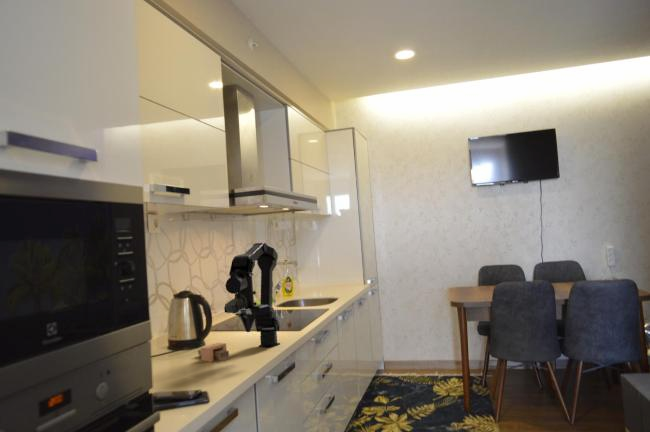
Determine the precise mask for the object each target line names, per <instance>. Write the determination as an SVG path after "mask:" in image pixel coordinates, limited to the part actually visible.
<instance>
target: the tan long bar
mask: <svg viewBox="0 0 650 432" xmlns="http://www.w3.org/2000/svg"><path fill="white" fill-rule="evenodd" d="M226 350H227V349H226ZM226 350H218V349H214V350H213V357H214V361H220V362H225V361H227V360H229V359H230V355H229V350H227V351H226ZM197 354H198V355H197V356H199V357H202V356H201V348H200V349H198V350H197Z"/></svg>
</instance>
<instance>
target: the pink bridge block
mask: <svg viewBox="0 0 650 432" xmlns="http://www.w3.org/2000/svg"><path fill="white" fill-rule="evenodd" d="M200 349H201V356H200V357H201V361H203V362H213V361H215V360H214V357H213V350H214V349H218V350H226V351H228V350H227V343H224V342H214V343H212V344H208V345H204V346H203V347H200Z"/></svg>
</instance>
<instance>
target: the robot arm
mask: <svg viewBox="0 0 650 432" xmlns="http://www.w3.org/2000/svg"><path fill="white" fill-rule="evenodd" d="M278 256H279V255H278V252H277V250H276V249H275V248H274V247H271V246H269V245H268V244H267V243H266V242H255V243H254V244H252V246H251V247H250V248H249V249H248V250H247V251H246V252H244V253H243V254H242V253H241V254H237V255H235V256H234V257H233V258H232V261H231V265H230V269H229V274H228V276H229V278H228V279H227V280H226V282H225V289H226V291H227V292H228V293H229V294H232V295H234V298H233V299H230V300H229V301H227V303H225V305H224V307H223V308H224V313H227V314H234V315H235V316H237V317H238V318H240V321H241V322H242V324H243V327H244V329H245V332H246V333H250V332H251V330H252V327H253V325H254V326H255V329H256V332H257V333H260V337H259V338H260V339H259V340H260V344H259V345H258V347H259V348H269V349H270V348H273V347H277V346H279V345H281V343H280V342H278V335H277V332H279V331H280V330H281V323H280V321H279V319H278V317H277V313H276V311H275V309H274V307H273V271H274V270H275V268H276V267H277V262H278V258H279V257H278ZM256 262H257V263H256ZM256 264H257V266H258V268H259V270H260V303H259V304H258V303H257V302H256V301H255V300H254V299H255V298H254V295H256V294H257V293H256V291H255V290H254V286H253V276H254V272H253V271H254V267H255V266H256Z"/></svg>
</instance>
